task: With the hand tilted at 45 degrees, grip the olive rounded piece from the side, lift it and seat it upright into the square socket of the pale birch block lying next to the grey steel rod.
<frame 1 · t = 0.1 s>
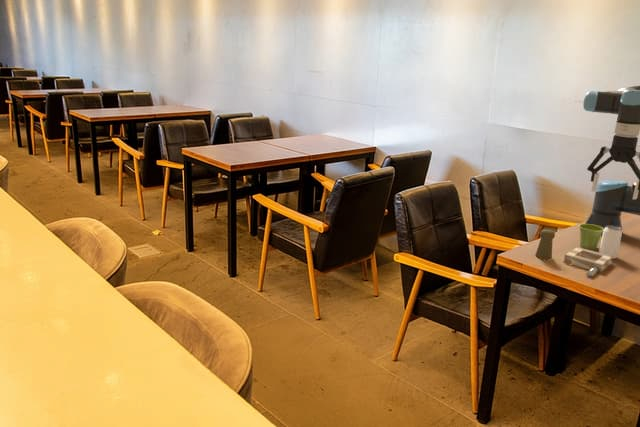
hand: (613, 194, 192), 28 cm above the table, tool pointing down, fingers open, 13 cm apart
plant pot: (587, 247, 221), on the table
steel rod: (593, 273, 194), on the table
birch socket block: (587, 262, 204), on the table
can: (607, 256, 212), on the table
olive rounded piece: (543, 257, 208), on the table
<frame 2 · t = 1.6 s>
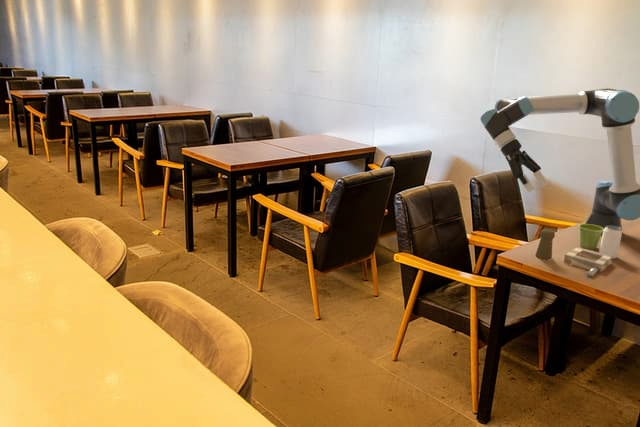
hand: (538, 188, 209), 25 cm above the table, tool tilted 45°, fingers open, 13 cm apart
nothing on the table moved.
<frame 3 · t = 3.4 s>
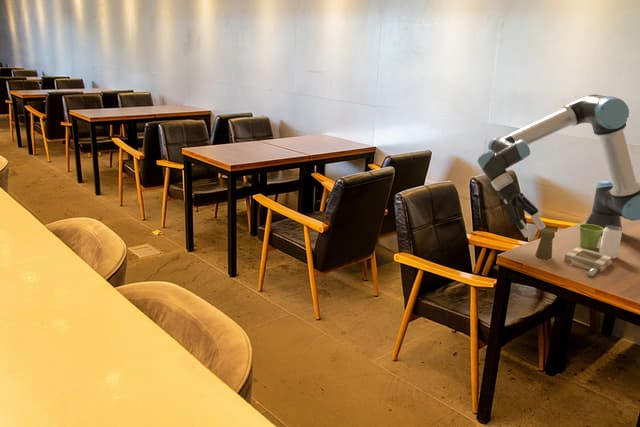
hand: (536, 232, 208), 9 cm above the table, tool tilted 45°, fingers open, 13 cm apart
nothing on the table moved.
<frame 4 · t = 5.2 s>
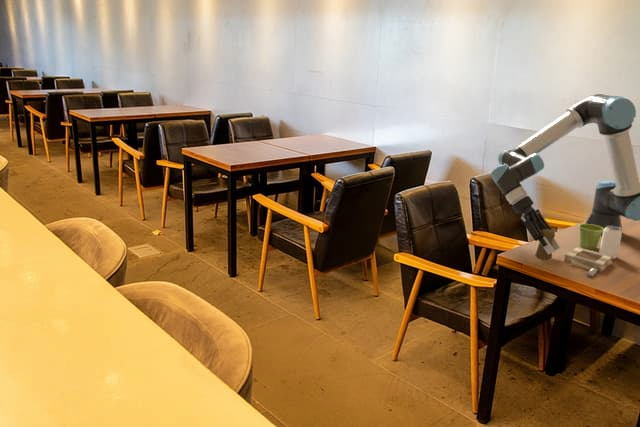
hand: (554, 251, 205), 4 cm above the table, tool tilted 45°, fingers closed on olive rounded piece, 5 cm apart
olive rounded piece: (543, 257, 208), on the table, touching gripper
everything else where it was.
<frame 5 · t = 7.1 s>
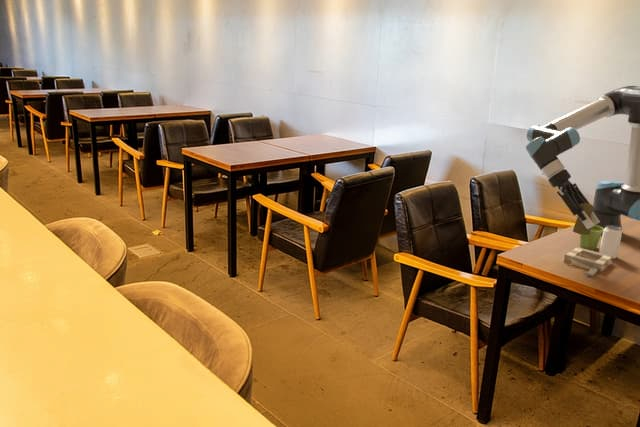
hand: (593, 225, 198), 15 cm above the table, tool tilted 45°, fingers closed on olive rounded piece, 5 cm apart
olive rounded piece: (581, 232, 201), point 12 cm above the table, touching gripper
everything else where it was.
when the fingers open (6 cm above the table, at t = 9.5 s): olive rounded piece drops 2 cm, resting in birch socket block.
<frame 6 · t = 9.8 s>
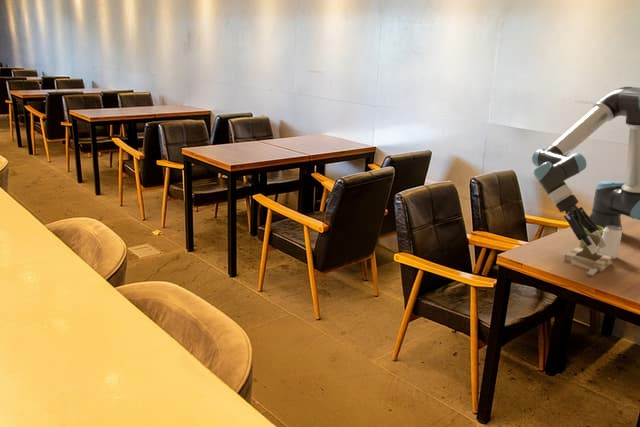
hand: (599, 249, 200), 6 cm above the table, tool tilted 45°, fingers open, 8 cm apart
olive rounded piece: (587, 263, 204), resting in birch socket block
everything else where it was.
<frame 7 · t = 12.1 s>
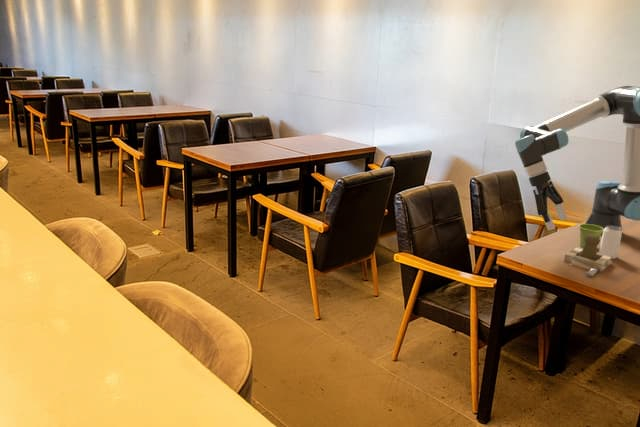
hand: (558, 224, 211), 12 cm above the table, tool tilted 30°, fingers open, 13 cm apart
nothing on the table moved.
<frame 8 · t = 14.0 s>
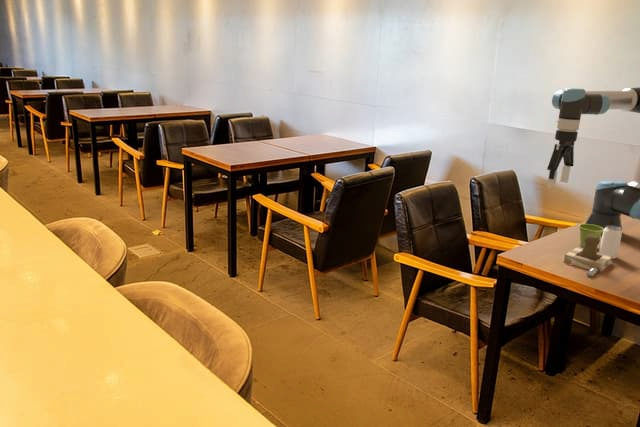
hand: (557, 184, 209), 27 cm above the table, tool pointing down, fingers open, 13 cm apart
nothing on the table moved.
at the end: olive rounded piece 0.1 cm off-centre on the birch socket block, point 0.0 cm above the birch socket block's base; olive rounded piece tilted 0°; the gripper is holding nothing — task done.
